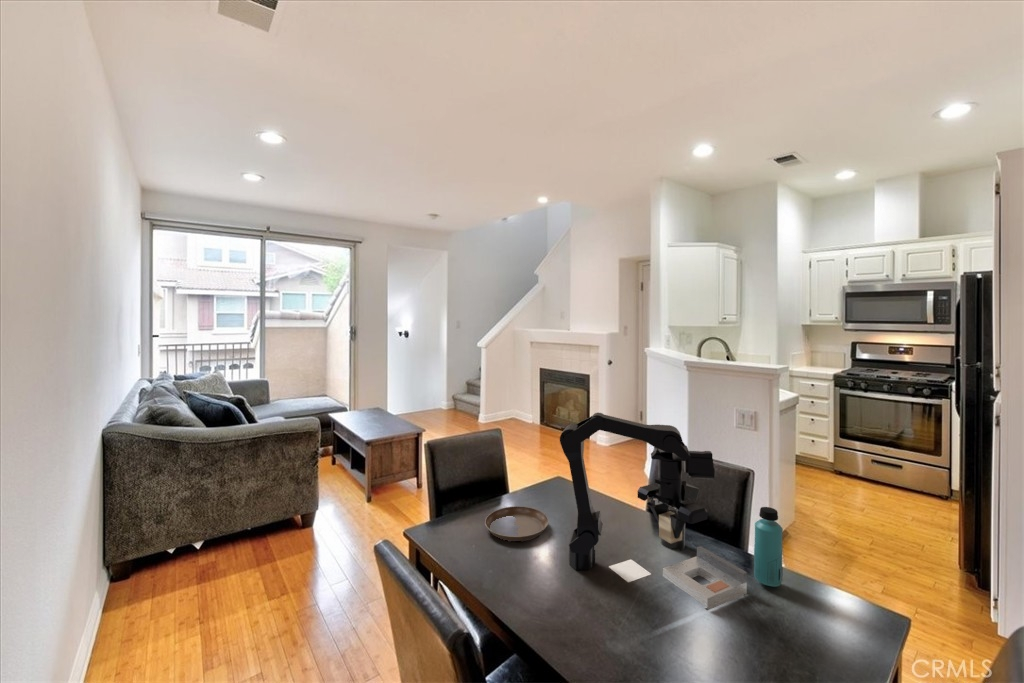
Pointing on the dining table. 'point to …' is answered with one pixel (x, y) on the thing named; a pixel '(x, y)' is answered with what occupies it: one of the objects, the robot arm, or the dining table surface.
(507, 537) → the plant saucer
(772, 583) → the beverage bottle
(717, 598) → the plate
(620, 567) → the white square tile
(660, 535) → the birch peg
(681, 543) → the supplement bottle
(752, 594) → the dining table surface
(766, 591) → the dining table surface
